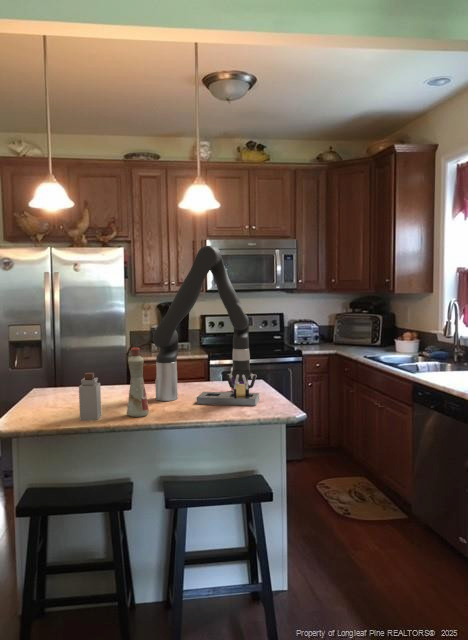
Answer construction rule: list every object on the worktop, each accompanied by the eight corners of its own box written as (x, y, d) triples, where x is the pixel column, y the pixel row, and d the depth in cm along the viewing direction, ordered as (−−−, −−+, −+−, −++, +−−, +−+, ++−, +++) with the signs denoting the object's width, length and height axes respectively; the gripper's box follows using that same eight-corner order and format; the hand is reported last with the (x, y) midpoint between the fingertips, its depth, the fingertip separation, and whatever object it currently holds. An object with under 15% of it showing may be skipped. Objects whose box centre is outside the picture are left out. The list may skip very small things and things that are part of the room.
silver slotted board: (196, 404, 224) (196, 397, 224) (203, 398, 236) (203, 391, 236) (255, 405, 219) (255, 398, 219) (259, 399, 231) (259, 392, 231)
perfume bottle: (101, 415, 207) (99, 371, 206) (97, 420, 200) (95, 374, 199) (84, 416, 207) (82, 372, 206) (80, 420, 200) (78, 375, 199)
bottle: (124, 413, 209) (122, 345, 207) (146, 411, 213) (144, 344, 211) (129, 418, 201) (126, 348, 199) (151, 416, 205) (149, 346, 203)
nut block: (236, 399, 225) (236, 385, 224) (238, 397, 229) (237, 383, 228) (245, 399, 224) (245, 385, 224) (246, 397, 228) (246, 384, 228)
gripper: (223, 359, 223) (224, 398, 224) (255, 360, 220) (256, 399, 221) (227, 357, 230) (227, 395, 231) (258, 357, 228) (258, 395, 229)
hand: (241, 397), depth 226 cm, fingers closed on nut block, 4 cm apart
